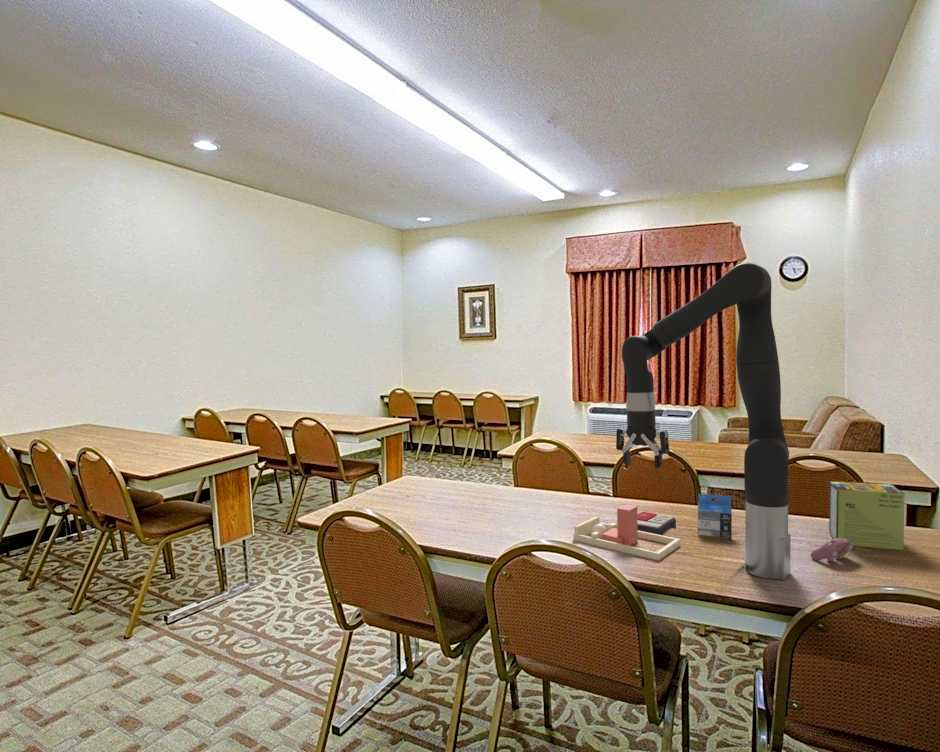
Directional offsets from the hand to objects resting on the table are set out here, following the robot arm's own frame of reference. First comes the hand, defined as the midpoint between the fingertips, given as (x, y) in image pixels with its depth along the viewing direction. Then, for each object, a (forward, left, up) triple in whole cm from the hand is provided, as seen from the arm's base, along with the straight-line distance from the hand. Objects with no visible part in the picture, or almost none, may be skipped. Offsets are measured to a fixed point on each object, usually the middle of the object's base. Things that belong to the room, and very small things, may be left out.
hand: (642, 467), depth 157 cm
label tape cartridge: (-13, -19, -23) cm, 32 cm away
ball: (+12, +3, -19) cm, 23 cm away
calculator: (+5, -15, -23) cm, 28 cm away
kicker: (+5, +3, -21) cm, 22 cm away
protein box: (-46, -42, -23) cm, 66 cm away
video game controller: (-42, -21, -23) cm, 52 cm away
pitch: (+4, +3, -22) cm, 23 cm away
